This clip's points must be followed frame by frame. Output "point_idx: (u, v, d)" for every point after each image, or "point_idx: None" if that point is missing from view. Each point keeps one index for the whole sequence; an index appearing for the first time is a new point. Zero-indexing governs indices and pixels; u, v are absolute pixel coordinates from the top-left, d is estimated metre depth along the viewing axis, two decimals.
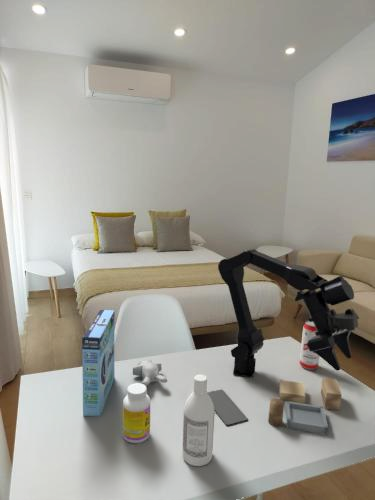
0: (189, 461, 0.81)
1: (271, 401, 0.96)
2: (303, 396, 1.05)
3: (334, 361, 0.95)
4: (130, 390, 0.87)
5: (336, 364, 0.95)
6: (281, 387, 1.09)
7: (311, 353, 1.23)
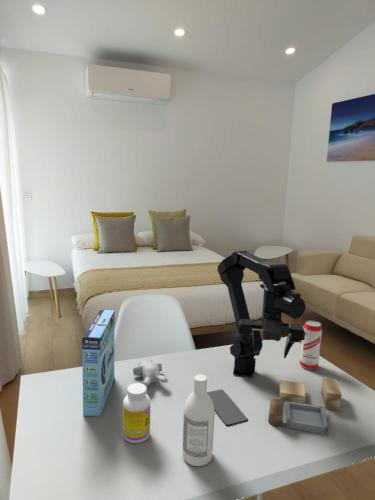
0: (189, 461, 0.81)
1: (271, 401, 0.96)
2: (303, 396, 1.05)
3: None
4: (130, 390, 0.87)
5: None
6: (281, 387, 1.09)
7: (311, 353, 1.23)
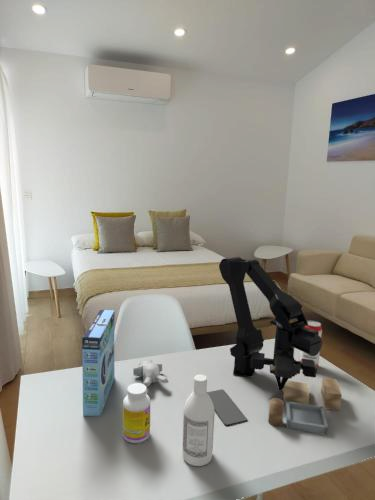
0: (189, 461, 0.81)
1: (271, 401, 0.96)
2: (307, 396, 1.05)
3: (277, 382, 1.09)
4: (130, 390, 0.87)
5: (278, 385, 1.09)
6: (285, 387, 1.09)
7: None
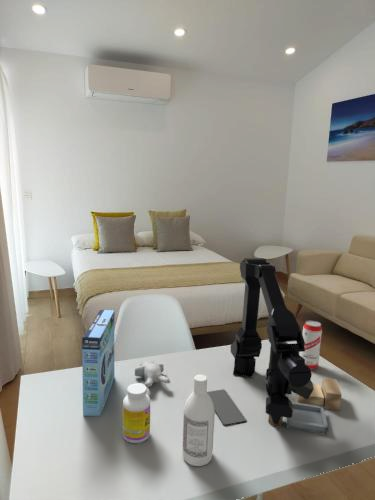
0: (189, 461, 0.81)
1: None
2: (322, 398, 1.05)
3: (278, 417, 0.93)
4: (130, 390, 0.87)
5: (277, 419, 0.94)
6: None
7: (311, 353, 1.23)
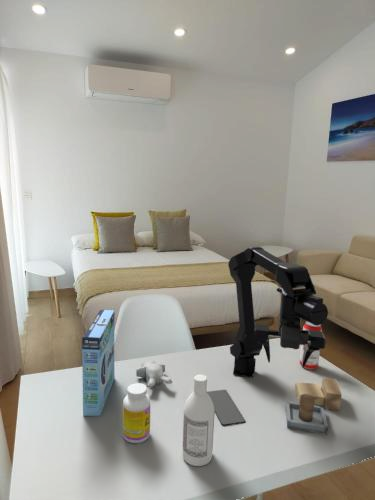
0: (189, 461, 0.81)
1: (307, 394, 0.98)
2: (322, 397, 1.05)
3: (266, 353, 1.02)
4: (130, 390, 0.87)
5: None
6: (299, 390, 1.08)
7: None
